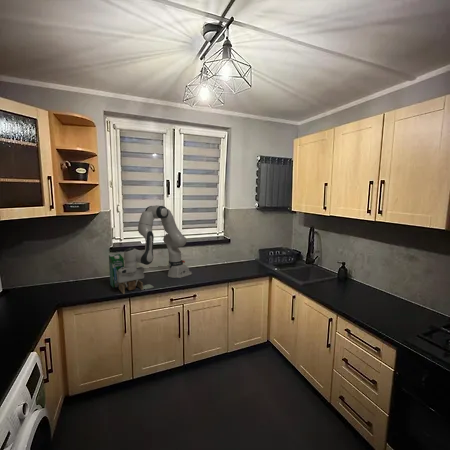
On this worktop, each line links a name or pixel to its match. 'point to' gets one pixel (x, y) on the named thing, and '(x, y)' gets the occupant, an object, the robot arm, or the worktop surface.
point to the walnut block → (131, 285)
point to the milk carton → (115, 268)
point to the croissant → (123, 286)
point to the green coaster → (147, 286)
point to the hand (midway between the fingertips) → (131, 285)
